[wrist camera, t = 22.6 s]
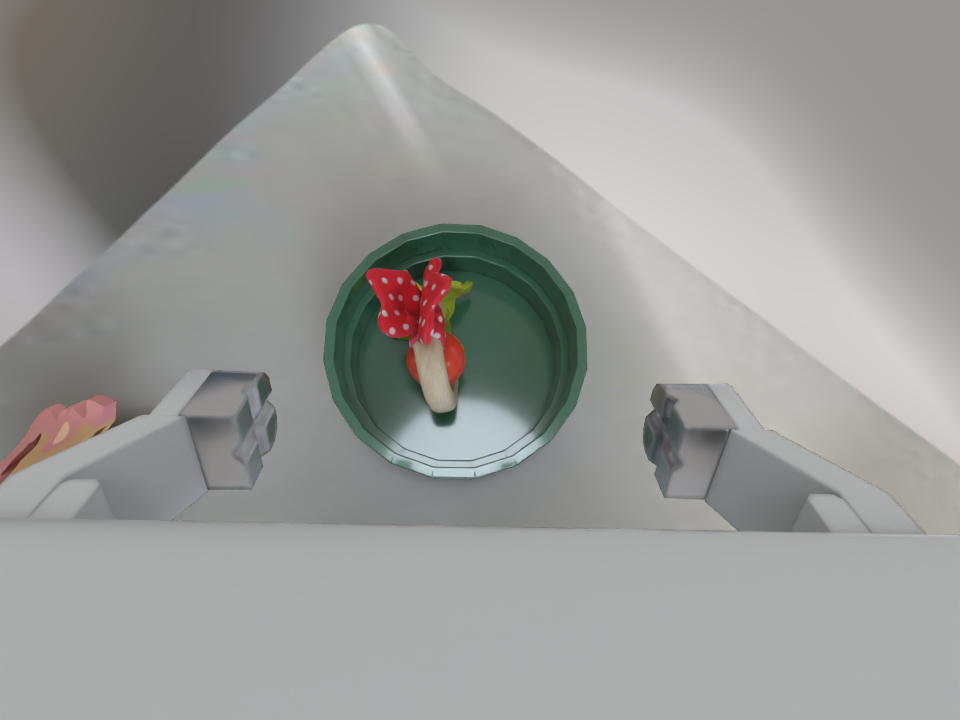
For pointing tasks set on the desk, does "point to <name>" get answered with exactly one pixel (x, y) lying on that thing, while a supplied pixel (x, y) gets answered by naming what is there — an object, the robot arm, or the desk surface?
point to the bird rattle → (424, 327)
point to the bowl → (488, 349)
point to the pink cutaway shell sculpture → (60, 432)
